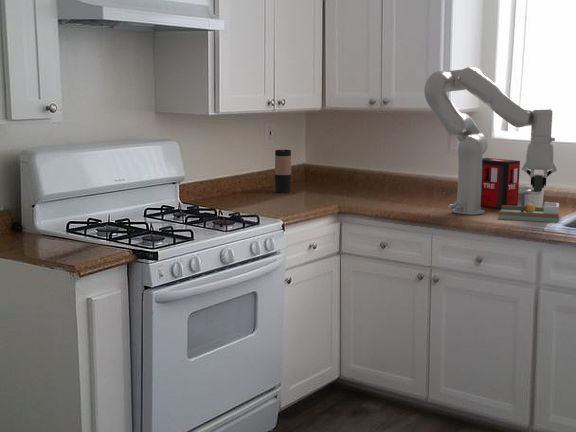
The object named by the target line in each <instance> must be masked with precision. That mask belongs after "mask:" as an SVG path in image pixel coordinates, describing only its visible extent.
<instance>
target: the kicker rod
mask: <svg viewBox="0 0 576 432" xmlns="http://www.w3.org/2000/svg"><path fill="white" fill-rule="evenodd" d="M543 176H544V174H535V173H534V177H535V178H534V190H525V189H524V188H523V189H521V188H519V189H518V195H519V194H520V195H521V199H520V200H521V201H520V206H521V212H524V209H525V194H532V195H540V194H541V191H542V180H543Z"/></svg>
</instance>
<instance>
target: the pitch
mask: <svg viewBox="0 0 576 432" xmlns="http://www.w3.org/2000/svg"><path fill="white" fill-rule="evenodd" d="M559 217H560V213H559V214H547V213H544V206H542V207H535V211H534V212H533V213H529V212H526V211H525V209H524V212H521V205H518V206H508V205H502V208H501V209H500V210H499V211H498V220H510V219H512V220H513V221H530V222H543V223H545V222H546V223H548V222H549V223H558V222H559Z"/></svg>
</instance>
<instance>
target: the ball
mask: <svg viewBox="0 0 576 432" xmlns="http://www.w3.org/2000/svg"><path fill="white" fill-rule="evenodd" d="M525 211H526V212H529V213H533V212H534V211H535V206H534V205H533V204H531V203H529V204H527V205H526V206H525Z"/></svg>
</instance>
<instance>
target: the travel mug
mask: <svg viewBox="0 0 576 432" xmlns="http://www.w3.org/2000/svg"><path fill="white" fill-rule="evenodd" d="M274 178H275V179H274V182H275V183H274V188H275V191H274V192H275V193H276V194H290V193H291V188H292V187H291V185H292V184H291V183H292V150H291V149H275V153H274Z"/></svg>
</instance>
